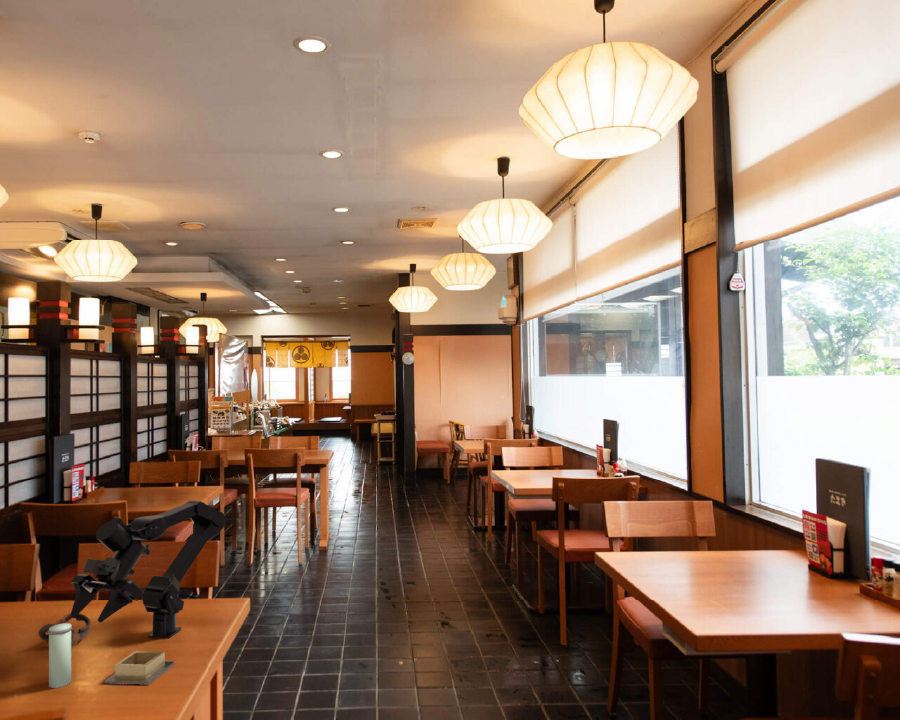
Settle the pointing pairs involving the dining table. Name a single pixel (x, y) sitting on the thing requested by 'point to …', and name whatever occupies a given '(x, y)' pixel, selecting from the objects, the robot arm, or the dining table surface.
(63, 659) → the pale green cylinder
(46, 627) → the dark double loop ring
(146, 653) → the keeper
